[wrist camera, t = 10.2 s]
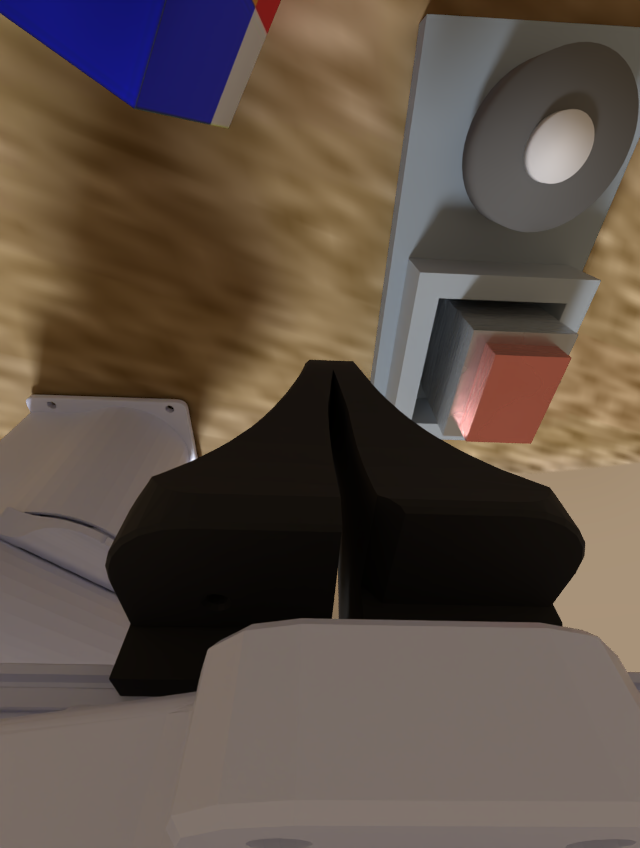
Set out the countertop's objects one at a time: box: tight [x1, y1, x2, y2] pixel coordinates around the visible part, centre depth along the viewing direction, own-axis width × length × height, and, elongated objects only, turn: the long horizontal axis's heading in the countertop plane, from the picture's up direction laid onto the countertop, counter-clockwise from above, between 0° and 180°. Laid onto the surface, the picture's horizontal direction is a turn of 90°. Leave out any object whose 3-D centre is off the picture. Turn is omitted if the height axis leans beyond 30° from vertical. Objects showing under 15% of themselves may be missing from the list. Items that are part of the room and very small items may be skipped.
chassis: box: [370, 14, 640, 440], centre depth 18 cm, size 9×17×4 cm, turn 178°
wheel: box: [462, 42, 639, 232], centre depth 13 cm, size 5×5×2 cm
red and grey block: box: [420, 298, 578, 444], centre depth 17 cm, size 4×5×6 cm
